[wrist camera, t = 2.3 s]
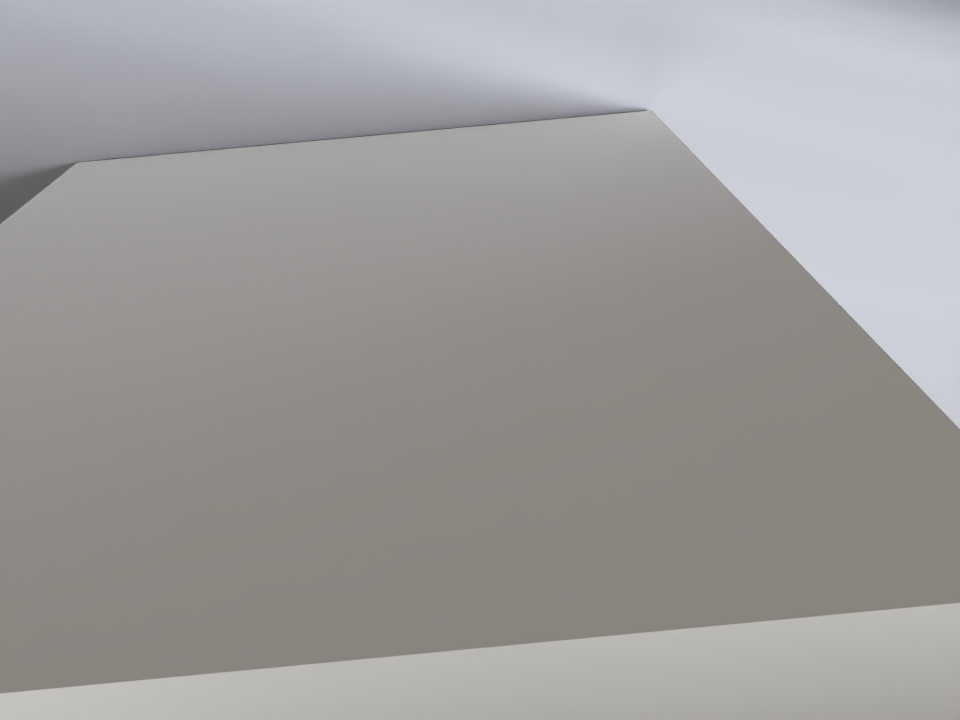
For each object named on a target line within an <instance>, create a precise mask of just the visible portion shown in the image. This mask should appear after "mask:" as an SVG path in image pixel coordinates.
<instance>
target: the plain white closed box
mask: <svg viewBox="0 0 960 720" xmlns="http://www.w3.org/2000/svg"><path fill="white" fill-rule="evenodd" d="M0 720H960V429H959V428H958V427H957V426H956V425H955V424H954V423H953V422H952V421H951V420H950V419H949V417H948V416H947V415H946V414H945V413H944V412H943V411H942V410H941V409H940V408H939V407H938V406H937V405H936V404H935V403H934V402H933V401H932V400H931V399H930V398H929V397H928V396H927V395H926V394H925V393H924V392H923V391H922V390H921V389H920V387H919V386H918V385H917V384H916V383H915V382H914V381H913V380H912V379H911V378H910V377H909V376H908V375H907V374H906V373H905V372H904V371H903V370H902V369H901V368H900V367H899V366H898V365H897V364H896V363H895V362H894V361H893V360H892V359H891V357H890V356H889V355H888V354H887V353H886V352H885V351H884V350H883V349H882V348H881V347H880V346H879V345H878V344H877V343H876V342H875V341H874V340H873V339H872V338H871V337H870V336H869V335H868V334H867V333H866V332H865V331H864V330H863V329H862V327H861V326H860V325H859V324H858V323H857V322H856V321H855V320H854V319H853V318H852V317H851V316H850V315H849V314H848V313H847V312H846V311H845V310H844V309H843V308H842V307H841V306H840V305H839V304H838V303H837V302H836V301H835V300H834V298H833V297H832V296H831V295H830V294H829V293H828V292H827V291H826V290H825V289H824V288H823V287H822V286H821V285H820V284H819V283H818V282H817V281H816V280H815V279H814V278H813V277H812V276H811V275H810V274H809V273H808V272H807V271H806V270H805V268H804V267H803V266H802V265H801V264H800V263H799V262H798V261H797V260H796V259H795V258H794V257H793V256H792V255H791V254H790V253H789V252H788V251H787V250H786V249H785V248H784V247H783V246H782V245H781V244H780V243H779V242H778V241H777V240H776V238H775V237H774V236H773V235H772V234H771V233H770V232H769V231H768V230H767V229H766V228H765V227H764V226H763V225H762V224H761V223H760V222H759V221H758V220H757V219H756V218H755V217H754V216H753V215H752V214H751V213H750V212H749V211H748V210H747V208H746V207H745V206H744V205H743V204H742V203H741V202H740V201H739V200H738V199H737V198H736V197H735V196H734V195H733V194H732V193H731V192H730V191H729V190H728V189H727V188H726V187H725V186H724V185H723V184H722V183H721V182H720V181H719V179H718V178H717V177H716V176H715V175H714V174H713V173H712V172H711V171H710V170H709V169H708V168H707V167H706V166H705V165H704V164H703V163H702V162H701V161H700V160H699V159H698V158H697V157H696V156H695V155H694V154H693V153H692V152H691V151H690V149H689V148H688V147H687V146H686V145H685V144H684V143H683V142H682V141H681V140H680V139H679V138H678V137H677V136H676V135H675V134H674V133H673V132H672V131H671V130H670V129H669V128H668V127H667V126H666V125H665V124H664V123H663V122H662V121H661V119H660V118H659V117H658V116H657V115H656V114H655V113H654V112H653V111H652V110H651V111H640V112H628V113H617V114H606V115H595V116H584V117H573V118H562V119H551V120H540V121H529V122H518V123H507V124H496V125H485V126H474V127H463V128H452V129H441V130H430V131H419V132H408V133H397V134H386V135H375V136H364V137H353V138H342V139H331V140H320V141H309V142H298V143H287V144H276V145H265V146H254V147H243V148H232V149H221V150H209V151H198V152H187V153H176V154H165V155H154V156H143V157H132V158H121V159H110V160H99V161H88V162H77V163H76V164H75V165H74V166H72V167H71V168H70V169H69V170H67V171H66V172H65V173H63V174H62V175H61V176H60V177H58V178H57V179H56V180H55V181H53V182H52V183H51V184H50V185H48V186H47V187H46V188H45V189H43V190H42V191H41V192H40V193H38V194H37V195H36V196H35V197H33V198H32V199H31V200H30V201H28V202H27V203H26V204H25V205H23V206H22V207H21V208H20V209H18V210H17V211H16V212H15V213H13V214H12V215H11V216H10V217H8V218H7V219H6V220H5V221H3V222H2V223H1V224H0Z"/></svg>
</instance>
